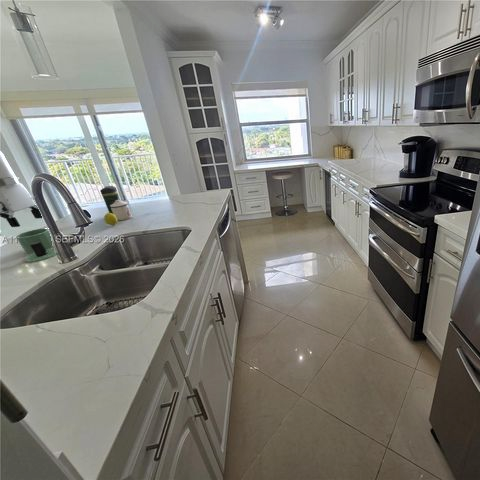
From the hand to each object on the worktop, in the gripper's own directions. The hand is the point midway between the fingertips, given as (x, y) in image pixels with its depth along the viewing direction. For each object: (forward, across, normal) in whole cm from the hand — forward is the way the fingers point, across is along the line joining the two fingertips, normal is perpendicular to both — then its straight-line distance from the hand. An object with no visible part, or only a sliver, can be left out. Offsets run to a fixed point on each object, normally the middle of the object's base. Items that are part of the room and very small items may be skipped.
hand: (28, 222), depth 109 cm
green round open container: (+17, -9, -12) cm, 22 cm away
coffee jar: (+17, -57, -9) cm, 60 cm away
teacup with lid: (+17, -50, 0) cm, 53 cm away
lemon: (+17, -36, +3) cm, 40 cm away
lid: (+16, 0, -2) cm, 16 cm away
